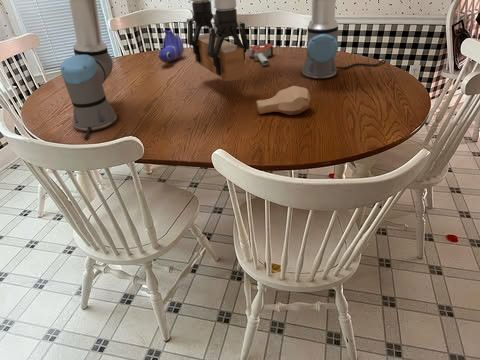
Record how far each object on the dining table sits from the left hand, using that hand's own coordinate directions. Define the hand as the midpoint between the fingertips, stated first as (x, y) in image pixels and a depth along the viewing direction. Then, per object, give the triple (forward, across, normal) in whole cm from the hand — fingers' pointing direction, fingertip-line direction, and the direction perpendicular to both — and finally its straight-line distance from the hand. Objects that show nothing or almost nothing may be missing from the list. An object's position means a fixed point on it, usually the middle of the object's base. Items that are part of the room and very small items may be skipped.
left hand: (230, 71), depth 138 cm
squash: (+11, -10, +22) cm, 27 cm away
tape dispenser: (+11, -36, -35) cm, 51 cm away
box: (+2, 0, -11) cm, 11 cm away
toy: (+11, +4, -61) cm, 62 cm away
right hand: (0, 0, -21) cm, 21 cm away
